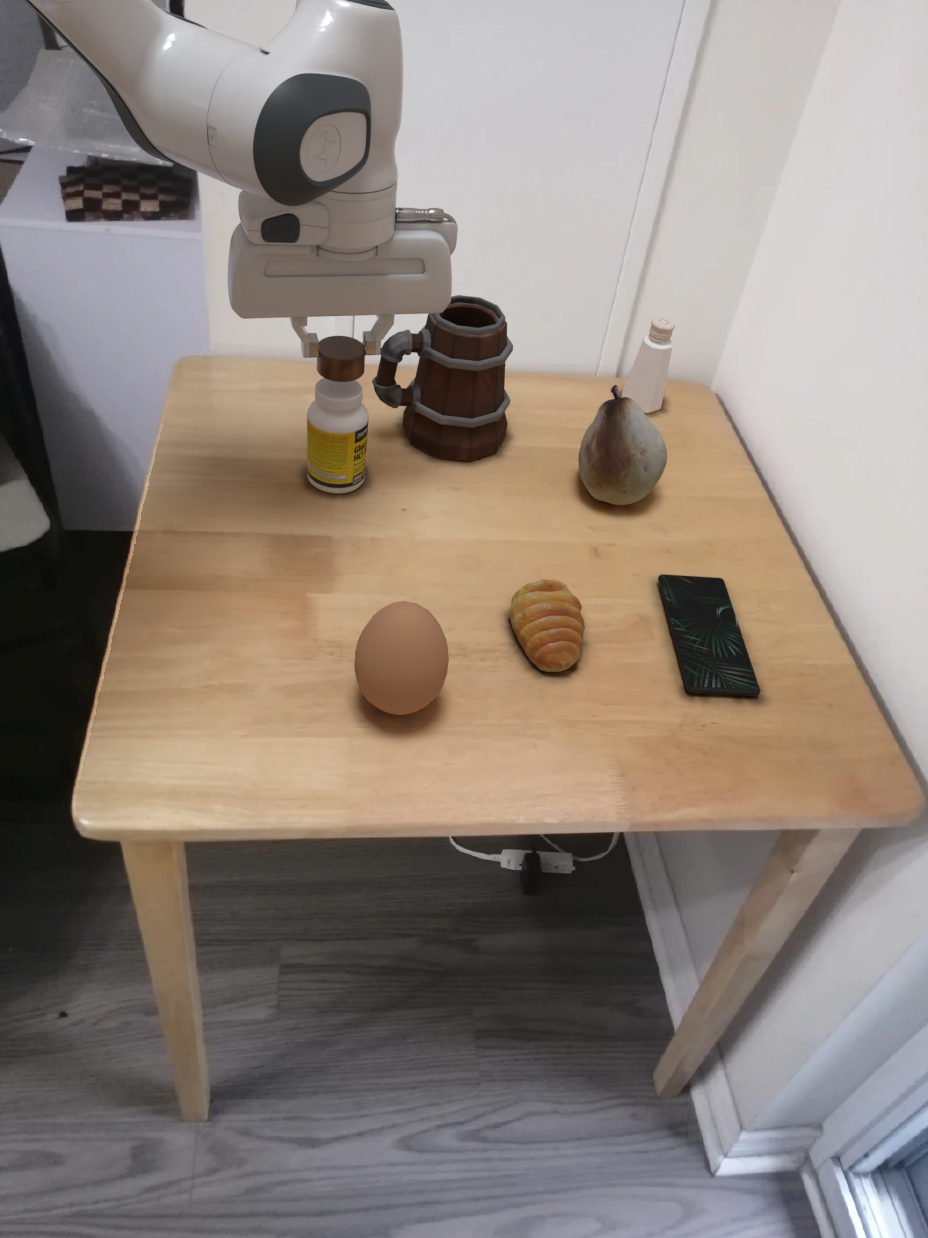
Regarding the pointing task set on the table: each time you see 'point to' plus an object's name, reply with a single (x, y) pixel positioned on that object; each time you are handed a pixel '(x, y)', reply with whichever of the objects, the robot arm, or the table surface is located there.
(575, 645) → the pastry
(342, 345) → the brown bottle cap
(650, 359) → the pepper shaker
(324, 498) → the table surface
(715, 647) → the smartphone
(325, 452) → the pill bottle
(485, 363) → the mug
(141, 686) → the table surface
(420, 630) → the egg
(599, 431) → the fruit
